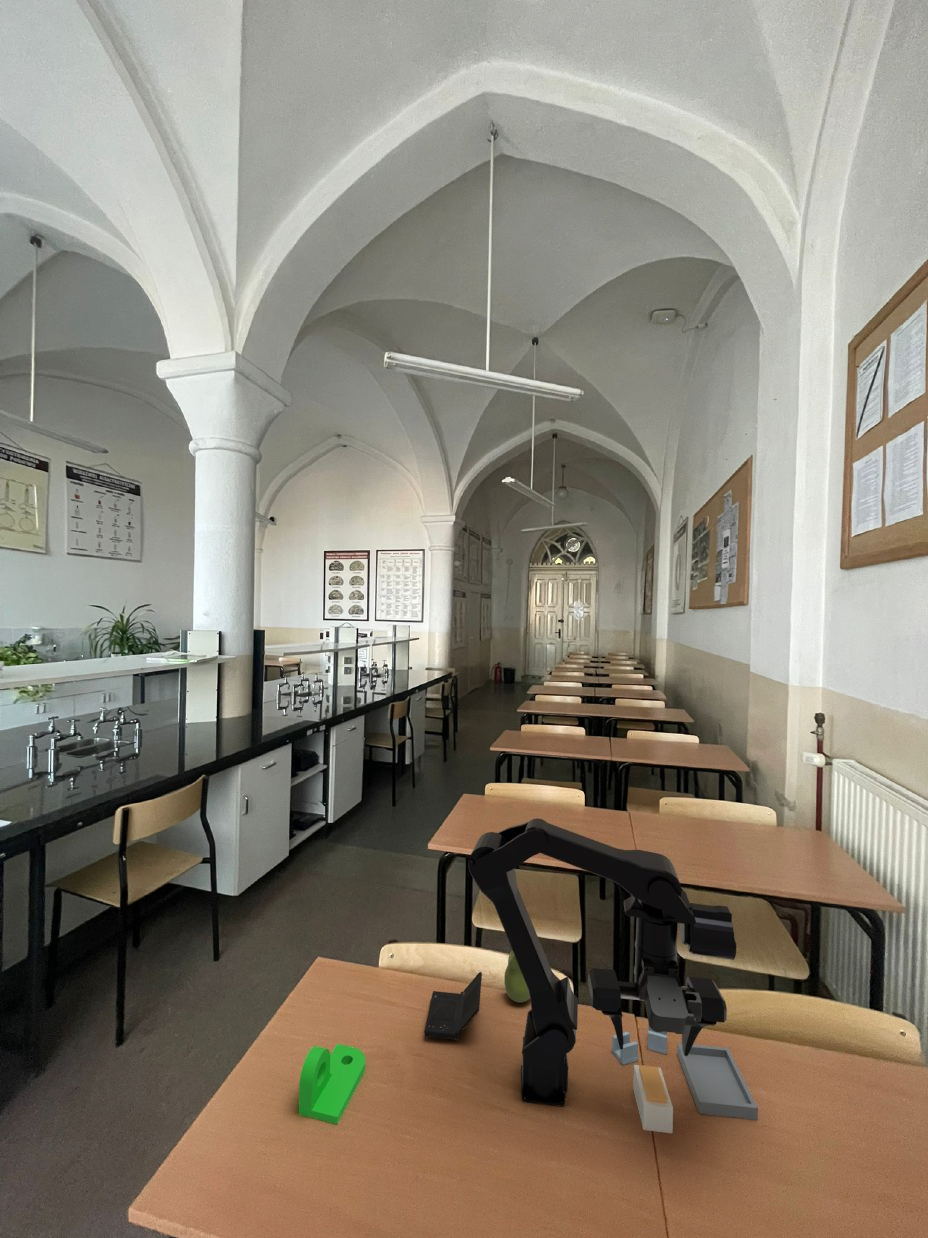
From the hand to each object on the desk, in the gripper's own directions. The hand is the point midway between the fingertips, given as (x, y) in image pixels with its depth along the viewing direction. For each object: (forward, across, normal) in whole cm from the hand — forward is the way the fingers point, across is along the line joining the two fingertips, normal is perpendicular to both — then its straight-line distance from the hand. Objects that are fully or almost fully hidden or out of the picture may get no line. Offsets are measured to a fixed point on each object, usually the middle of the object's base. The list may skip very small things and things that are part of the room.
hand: (652, 1050), depth 81 cm
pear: (+9, -19, +21) cm, 30 cm away
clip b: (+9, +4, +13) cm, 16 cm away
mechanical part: (+10, -47, -2) cm, 48 cm away
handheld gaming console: (+10, -34, +14) cm, 38 cm away
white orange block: (+9, 0, 0) cm, 9 cm away
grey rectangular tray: (+9, +11, +6) cm, 15 cm away
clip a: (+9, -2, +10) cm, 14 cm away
